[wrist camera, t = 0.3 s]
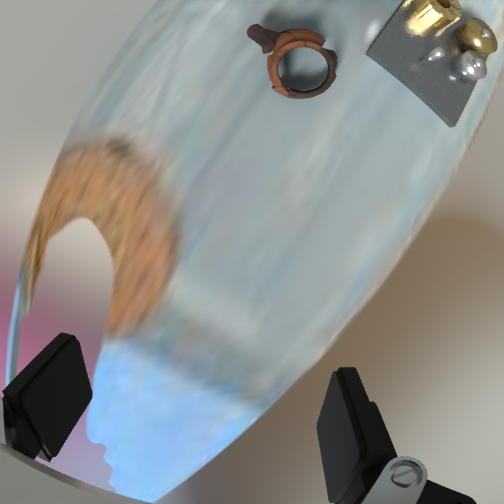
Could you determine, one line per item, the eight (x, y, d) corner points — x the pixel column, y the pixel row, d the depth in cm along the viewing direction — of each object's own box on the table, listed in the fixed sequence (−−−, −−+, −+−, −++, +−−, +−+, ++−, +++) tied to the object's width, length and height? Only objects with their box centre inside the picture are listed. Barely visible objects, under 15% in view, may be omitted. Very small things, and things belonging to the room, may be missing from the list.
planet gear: (419, -14, 26) (430, -25, 22) (453, 14, 27) (466, 6, 23) (405, 6, 28) (416, -5, 24) (441, 36, 29) (454, 28, 25)
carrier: (415, -15, 27) (432, -32, 21) (486, 49, 29) (508, 41, 23) (365, 54, 32) (382, 37, 26) (449, 127, 34) (475, 123, 28)
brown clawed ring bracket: (340, 49, 33) (358, 59, 27) (304, 99, 39) (314, 120, 33) (262, 5, 29) (264, 4, 23) (228, 61, 35) (222, 73, 29)
